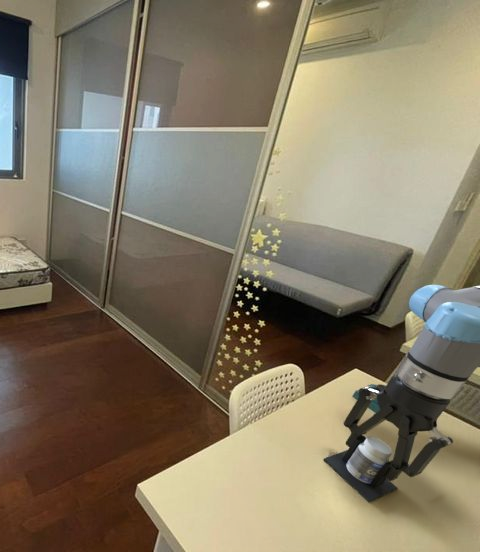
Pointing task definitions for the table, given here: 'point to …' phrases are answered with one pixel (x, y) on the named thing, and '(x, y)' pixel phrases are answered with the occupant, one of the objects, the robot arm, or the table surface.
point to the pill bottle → (368, 459)
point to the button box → (374, 404)
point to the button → (380, 387)
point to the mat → (358, 485)
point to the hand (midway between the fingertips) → (361, 471)
